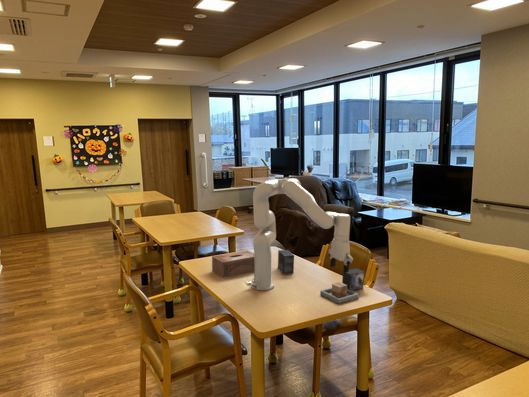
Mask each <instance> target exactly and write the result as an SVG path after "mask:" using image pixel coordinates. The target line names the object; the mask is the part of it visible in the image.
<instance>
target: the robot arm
mask: <svg viewBox="0 0 529 397" xmlns="http://www.w3.org/2000/svg"><path fill="white" fill-rule="evenodd" d="M275 195H286V196H287V197H288V198H290V199H291V200H292V201H293V202H294V203H295V204H297V205H298V206H299V207H300V208H301V209H302V210H303V212H304V213H305V214H306V215H307V216H308V218H310V219H311V220H312V221H313V222H314V223H315V224H316V225H317V226H319V227H321V229H325V230H328V229H331V228H332V227H333V226H334V233H333V239H332V242H331V246H330V248H329V249H327V250H328V251H327V252H328V256H329V260H330V265H329V266H330V268H334V267H336V263H337V262H336V261H337V260H338V261H340V262H343V264H344V265H343V269H342V273H343V272H344V273H346V272H348V271H349V270H350V268H349V267H350V265H351V264H352V263H353V261H354V258H353V256H352V255H351V247H350V246H351V245H350V231H351V230H350V229H351V228H350V227H351V215H350V214H348V213H342V212H341V213H338V212H334V211H324V210H323V208H321V207H320V205H318V204H317V202H316V200H315V198H314V196H313V194H311V193H310V192H309V191H308V190H307V189H305V188H304V187H303V186H302V183H301V182H300V180H299V179H298V178H295V177H294V178H293V177H292V178H275V179H269V180H265V181H262V182H261V183H260V184H258V185H257V186H256V187H255V188H254V191H253V193H252V202H253V224H254V226H255V228H257V229H258V230H259V232H258V231H257V233H256V234H254V235H255V236H254V237H253V240H252V243H253V253H254V272H253V273H254V274H253V278H252V280H251V281H246V286H247V287H248V286H250V287H251V288H252V289H254V290H256V291H268V290H269V291H270V290H271V289H273V288H274V286H275V285H274V283H273V282H272V249H271V246H272V244H274V242H275V241H276V238H277V228H276V227H277V226H276V225H277V224H276V216H275V214H274V212H273V211H272V210H270V203H269V198H270V197H273V196H275Z"/></svg>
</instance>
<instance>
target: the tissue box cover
mask: <svg viewBox="0 0 529 397" xmlns="http://www.w3.org/2000/svg"><path fill="white" fill-rule="evenodd" d="M211 272H213V273H214V274H215V275H217V276H218V277H220V278H222V279H224V278H225V279H226V278H229V277H230V278H231V277H235V276H240V275H244V274H250V273H254V252H252V251H250V250H241V251H236V252H229V253H224V254H223V253H222V254H217V255H212V257H211Z"/></svg>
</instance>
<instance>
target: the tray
mask: <svg viewBox="0 0 529 397" xmlns="http://www.w3.org/2000/svg"><path fill="white" fill-rule="evenodd" d="M319 292H320V294H319V295H321V296H322V297H323V298H326V299H328V300H329V301H332V302H334V303H336V304H337V305H340V304H344V303H348V302H351V301H354V300H357V299H359V293H357V292H355V291H351V290H349V289H347V296H346V297H342V298H337V297H335V296H333V295H332V287H329V288H324V289H321V290H320V291H319Z"/></svg>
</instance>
